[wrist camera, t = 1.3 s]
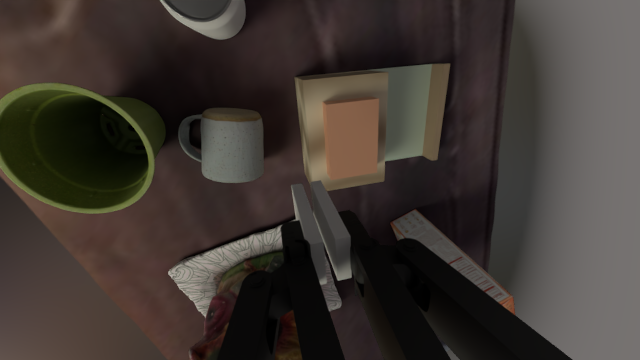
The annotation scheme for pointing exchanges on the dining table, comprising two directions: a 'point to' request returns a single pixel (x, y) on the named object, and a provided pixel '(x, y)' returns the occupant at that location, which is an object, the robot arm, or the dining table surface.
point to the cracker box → (450, 254)
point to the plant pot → (78, 146)
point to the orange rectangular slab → (351, 136)
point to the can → (209, 16)
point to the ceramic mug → (227, 144)
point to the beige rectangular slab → (312, 123)
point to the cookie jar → (238, 289)
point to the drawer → (415, 110)
